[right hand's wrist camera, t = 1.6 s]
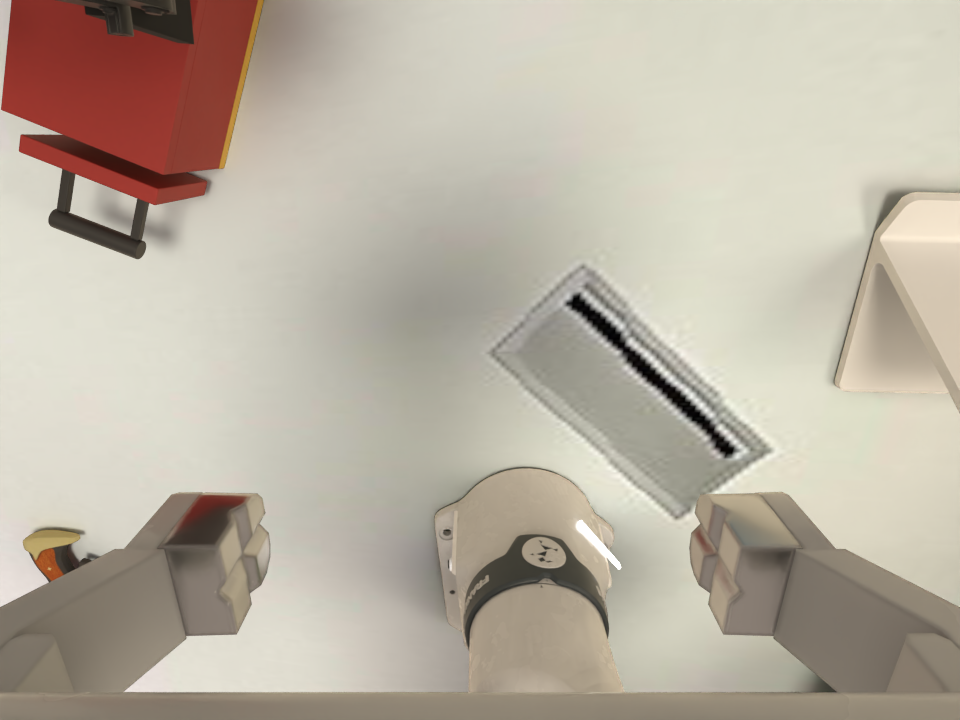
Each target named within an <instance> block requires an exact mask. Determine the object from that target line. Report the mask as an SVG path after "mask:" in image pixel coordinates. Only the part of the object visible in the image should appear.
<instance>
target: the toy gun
mask: <svg viewBox="0 0 960 720" xmlns="http://www.w3.org/2000/svg"><path fill="white" fill-rule="evenodd" d="M79 539H80V535H79V534H77V533H73V532H67V531H60V530H42V531H38V532H35V533H33V534H31V535H29V536H28V537H27V538H25V539H24V540H23V546H24V548H25V550H26V551H28V552H29V553H30V556H31V558H32V560H33V561H34V563H35V565H36V566H37V567H38V569H39V570H40V571H41V572H42V573H43V575H44V576H45V577H46V578H47V580H48V581H49V582H51V581H53V580H55V579H57V578H59V577H61V576H63V575H65V574H67V573H69V572H71V571H73V570H75V568H74V566H73V565H72V563H71V562H70V560H69V558H68V556H67V547H68V544H71V543H74V542H76V541H78V540H79ZM89 562H91V560H89V559H85V558H83V559H82V560H81V561H80V562H79V565H78V568H79V567H81V566H83V565H85V564H87V563H89Z"/></svg>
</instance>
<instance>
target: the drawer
mask: <svg viewBox="0 0 960 720" xmlns="http://www.w3.org/2000/svg"><path fill="white" fill-rule="evenodd" d="M19 152H21V153H24V154H26V155H29V156H31V157H34V158H36V159H39V160H41V161H44V162H47V163H49V164H52V165H54V166H57V167H59V168H62V176H61V183H60V190H59V198H58V205H57V209H55V210H53V211H52V212H51V214H50V216H49V225H50V226H51V227H54V228H56V229H59V230H61V231H64V232H67V233H69V234H72V235H75V236H77V237H80V238H83V239H85V240H88V241H90V242H93V243H96V244H98V245H101V246H104V247H106V248H109V249H112V250H114V251H117V252H120V253H122V254H125V255H127V256H130V257H133V258H135V259H140V258H141V257H142V256H143V255H144V253H145V250H146V243H145V242H144V241H142V236H143V231H144V226H145V221H146V216H147V211H148V206H149V203H151V204H153V205H158V204H163V203H168V202H173V201H178V200H182V199H187V198H192V197H197V196H202V195H204V194H205V189H206V185H207V181H205V180H203V179H200V178H198V177H195V176H193V175H190V174H188V173H185V172H183V173H174V174H166V175H162V174H160V173H157V172H155V171H152V170H150V169H147V168H145V167H142V166H140V165H137V164H135V163H132V162H130V161H127V160H125V159H122V158H120V157H117V156H115V155H113V154H110V153H108V152H105V151H103V150H100V149H98V148H95V147H93V146H90V145H88V144H85V143H83V142H80V141H78V140H75V139H73V138H70V137H68V136H65V135H21V137H20V146H19ZM75 174H77V175H79V176H82V177H85V178H87V179H90V180H92V181H95V182H97V183H100V184H102V185H105V186H107V187H110V188H112V189H115V190H118V191H120V192H123V193H125V194H128V195H130V196H133V197H135V198H138V199H137V204H136V209H135V215H134V220H133V225H132V231H131V236H129V235H126V234H124V233H121V232H118V231H116V230H113V229H111V228H108V227H105V226H103V225H100V224H98V223H95V222H92V221H90V220H87V219H85V218H82V217H79V216H77V215H74V214H71V213H69V212H70V207H71V200H72V193H73V186H74V180H75Z"/></svg>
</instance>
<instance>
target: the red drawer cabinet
mask: <svg viewBox="0 0 960 720" xmlns="http://www.w3.org/2000/svg"><path fill="white" fill-rule="evenodd" d="M263 2H264V0H190V4H191V15H192V25H193V36H194V44H183V43H176V42H173V41H170V40H166V39H163V38H160V37H157V36H154V35H150V34H147V33H144V32H141V31H137V30H134V29H133V31H134V36H133V37H126V36H116V35H109V34H108V33H107V27H106V21H105V20H102V19H99V18H96V17H92V16H89V15H86V14H85V8H84V6H82V5H77V4H72V3H66V2H61V1H56V0H12V3H11V13H10V23H9V34H8V44H7V54H6V65H5V75H4V85H3V96H2V106H1V110H3V111H6V112H8V113H11V114H13V115H16V116H18V117H21V118H23V119H26V120H28V121H31V122H33V123H35V124H38V125H40V126H43V127H45V128H48V129H50V130H53V131H55V132H58V133H60V134H63V135H65V136H68V137H70V138H73V139H75V140H78V141H80V142H83V143H85V144H88V145H90V146H93V147H95V148H98V149H100V150H103V151H105V152H108V153H110V154H113V155H115V156H117V157H120V158H122V159H125V160H127V161H130V162H132V163H135V164H137V165H140V166H142V167H145V168H147V169H150V170H152V171H155V172H157V173H160V174H162V175H166V174H174V173H183V172H191V171H200V170H209V169H221V168H224V166H225V162H226V158H227V154H228V149H229V145H230V141H231V137H232V133H233V128H234V124H235V120H236V116H237V111H238V107H239V103H240V99H241V95H242V90H243V86H244V82H245V78H246V73H247V69H248V65H249V61H250V57H251V52H252V48H253V44H254V40H255V35H256V31H257V27H258V23H259V19H260V14H261V10H262V6H263Z"/></svg>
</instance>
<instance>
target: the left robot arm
mask: <svg viewBox="0 0 960 720" xmlns="http://www.w3.org/2000/svg"><path fill="white" fill-rule="evenodd" d="M56 1H61V2H66V3H72V4H77V5H82V6H84V8H85V14H86V15H89V16H92V17H96V18H99V19H102V20H105V21H106V27H107V33H108V34H109V35H116V36H126V37H133V36H134V31H133V29H134V30H137V31H141V32H144V33H147V34H150V35H154V36H157V37H160V38H163V39H166V40H170V41H173V42H176V43H183V44H194V36H193V25H192V15H191V4H190V0H56Z"/></svg>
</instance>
